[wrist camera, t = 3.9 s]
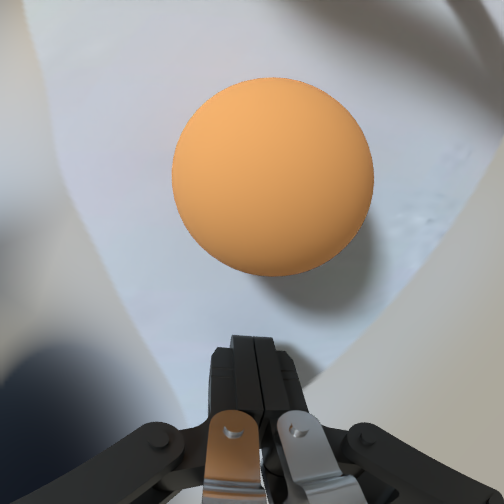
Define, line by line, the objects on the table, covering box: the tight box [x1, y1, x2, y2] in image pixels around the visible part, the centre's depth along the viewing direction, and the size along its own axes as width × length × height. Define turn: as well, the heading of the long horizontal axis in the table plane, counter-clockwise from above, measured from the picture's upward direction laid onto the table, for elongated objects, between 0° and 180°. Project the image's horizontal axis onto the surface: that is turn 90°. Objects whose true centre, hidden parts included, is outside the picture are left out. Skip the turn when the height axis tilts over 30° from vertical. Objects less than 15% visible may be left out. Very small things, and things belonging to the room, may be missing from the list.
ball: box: [172, 77, 374, 277], centre depth 7 cm, size 5×5×5 cm
